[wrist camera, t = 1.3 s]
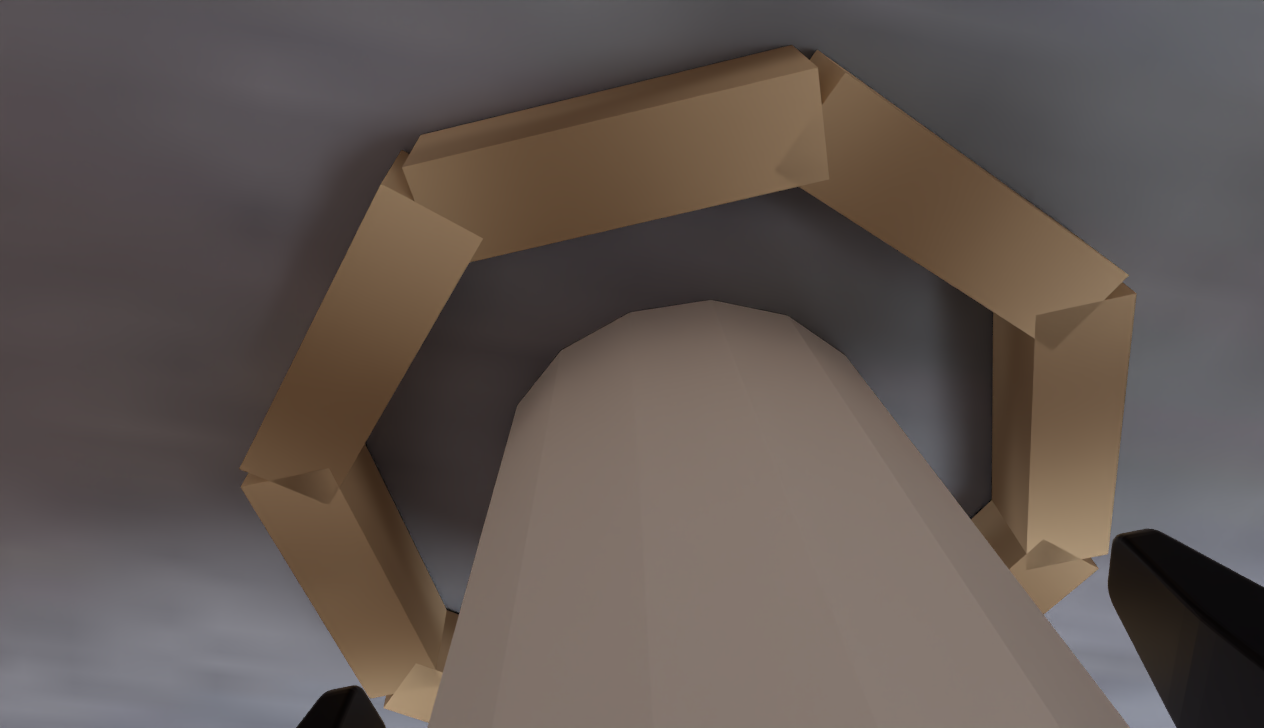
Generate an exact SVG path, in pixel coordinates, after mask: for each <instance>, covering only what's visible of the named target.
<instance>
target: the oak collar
mask: <svg viewBox="0 0 1264 728" xmlns="http://www.w3.org/2000/svg"><path fill="white" fill-rule="evenodd" d="M798 186H799V187H800V188H802V189H803V190H805V191H806V192H808V193H810V194H811V195H813V196H814V197H816V198H817V199H819V200H820V201H822V202H823V203H825V204H827V205H828V206H830V207H831V208H833V209H834V210H836V211H837V212H839V213H841V214H842V215H844V216H845V217H847V218H848V219H850V220H851V221H853V222H855V223H856V224H858V225H859V226H861V227H862V228H864V229H865V230H867V231H868V232H870V233H872V234H873V235H875V236H876V237H878V238H879V239H881V240H882V241H884V242H886V243H887V244H889V245H890V246H892V247H893V248H895V249H896V250H898V251H900V252H901V253H903V254H904V255H906V256H907V257H909V258H910V259H912V260H913V261H915V262H917V263H918V264H920V265H921V266H923V267H924V268H926V269H927V270H929V271H931V272H932V273H934V274H935V275H937V276H938V277H940V278H941V279H943V280H944V281H946V282H948V283H949V284H951V285H952V286H954V287H955V288H957V289H958V290H960V291H962V292H963V293H965V294H966V295H968V296H969V297H971V298H972V299H974V300H976V301H977V302H979V303H980V304H982V305H983V306H985V307H986V308H988V309H989V310H991V311H993V405H992V500H991V501H990V502H989V503H988V504H987V505H986V506H985V507H984V508H983V509H982V510H981V511H980V512H978V513H977V514H976V515H975V516H974V517H973V518H972V519H971V520H972V522H973V523H974V524H975V526H976V527H977V528H978V530H979V531H980V532H981V534H982V535H983V536H984V537H985V539H986V540H987V541H988V543H989V544H990V545H991V547H992V548H993V549H994V551H995V552H996V553H997V554H998V556H999V557H1000V558H1001V560H1002V561H1003V562H1004V564H1005V565H1006V566H1007V568H1008V569H1009V570H1010V571H1011V573H1012V574H1013V575H1014V577H1015V578H1016V579H1017V581H1018V582H1019V583H1020V585H1021V586H1022V587H1023V588H1024V590H1025V591H1026V592H1027V594H1028V595H1029V596H1030V598H1031V599H1032V600H1033V602H1034V603H1035V604H1036V605H1037V607H1038V608H1039V609H1040V611H1041V612H1042V613H1043V614H1045V613H1046V612H1047V611H1048V610H1050V609H1051V608H1052V607H1053V606H1054V605H1056V604H1057V603H1058V602H1059V601H1060V600H1062V599H1063V598H1064V597H1065V596H1066V595H1068V594H1069V593H1070V592H1071V591H1072V590H1074V589H1075V588H1076V587H1077V586H1078V585H1080V584H1081V583H1082V582H1083V581H1085V580H1086V579H1087V578H1088V577H1089V576H1091V575H1092V574H1093V573H1094V572H1095V571H1097V570H1098V569H1099V568H1098V567H1097V566H1096V564H1095V563H1094V561H1093V560H1092V559H1091V557H1096V556H1101V555H1106V554H1108V549H1109V540H1110V531H1111V522H1112V513H1113V503H1114V494H1115V485H1116V476H1117V467H1118V458H1119V449H1120V440H1121V430H1122V421H1123V412H1124V403H1125V394H1126V385H1127V376H1128V366H1129V357H1130V348H1131V339H1132V330H1133V321H1134V312H1135V302H1136V293H1135V292H1134V291H1133V290H1131V289H1130V288H1129V287H1128V286H1126V285H1125V284H1124V283H1122V282H1123V281H1124V280H1125V279H1126V278H1127V277H1128V276H1129V275H1128V274H1126V273H1125V272H1124V271H1123V270H1121V269H1120V268H1119V267H1117V266H1116V265H1115V264H1113V263H1112V262H1111V261H1109V260H1108V259H1107V258H1105V257H1104V256H1103V255H1101V254H1100V253H1099V252H1097V251H1096V250H1095V249H1093V248H1092V247H1091V246H1089V245H1088V244H1087V243H1085V242H1084V241H1083V240H1082V239H1080V238H1079V237H1078V236H1076V235H1075V234H1073V233H1072V232H1071V231H1069V230H1068V229H1066V228H1065V227H1064V226H1062V225H1061V224H1059V223H1058V222H1057V221H1055V220H1054V219H1053V218H1051V217H1050V216H1048V215H1047V214H1046V213H1044V212H1043V211H1041V210H1040V209H1039V208H1037V207H1036V206H1034V205H1033V204H1032V203H1030V202H1029V201H1027V200H1026V199H1025V198H1023V197H1022V196H1020V195H1019V194H1018V193H1016V192H1015V191H1014V190H1012V189H1011V188H1009V187H1008V186H1007V185H1005V184H1004V183H1002V182H1001V181H1000V180H998V179H997V178H995V177H994V176H993V175H991V174H990V173H988V172H987V171H986V170H984V169H983V168H981V167H980V166H979V165H977V164H976V163H975V162H973V161H972V160H970V159H969V158H968V157H966V156H965V155H963V154H962V153H961V152H959V151H958V150H956V149H955V148H954V147H952V146H951V145H949V144H948V143H947V142H945V141H944V140H942V139H941V138H940V137H938V136H937V135H936V134H934V133H933V132H931V131H930V130H929V129H927V128H926V127H924V126H923V125H922V124H920V123H919V122H917V121H916V120H915V119H913V118H912V117H910V116H909V115H908V114H906V113H905V112H903V111H902V110H901V109H899V108H898V107H897V106H895V105H894V104H892V103H891V102H890V101H888V100H887V99H885V98H884V97H883V96H881V95H880V94H878V93H877V92H876V91H874V90H873V89H871V88H870V87H869V86H867V85H866V84H864V83H863V82H862V81H860V80H859V79H858V78H856V77H855V76H853V75H852V74H851V73H849V72H848V71H846V70H845V69H844V68H842V67H841V66H839V65H838V64H837V63H835V62H834V61H832V60H831V59H830V58H828V57H827V56H825V55H824V54H823V53H821V52H820V51H819V50H816V52H815V53H814V54H813V56H812V57H811V59H810V60H809V59H808V58H806V57H805V56H804V55H803V54H802V53H801V52H800V51H798V50H797V49H796V48H795V47H794V46H793V45H790V46H785V47H781V48H777V49H773V50H769V51H765V52H761V53H757V54H752V55H748V56H744V57H740V58H736V59H732V60H728V61H724V62H719V63H715V64H711V65H707V66H703V67H699V68H695V69H691V70H686V71H682V72H678V73H674V74H670V75H666V76H662V77H658V78H654V79H649V80H645V81H641V82H637V83H633V84H629V85H625V86H621V87H616V88H612V89H608V90H604V91H600V92H596V93H592V94H588V95H583V96H579V97H575V98H571V99H567V100H563V101H559V102H555V103H551V104H546V105H542V106H538V107H534V108H530V109H526V110H522V111H518V112H513V113H509V114H505V115H501V116H497V117H493V118H489V119H485V120H480V121H476V122H472V123H468V124H464V125H460V126H456V127H452V128H448V129H443V130H439V131H435V132H431V133H427V134H423V135H420V137H419V139H418V140H417V142H416V144H415V146H414V147H413V149H412V151H411V153H410V154H408V153H406V152H405V151H403V150H401V152H400V153H399V155H398V157H397V158H396V160H395V162H394V163H393V165H392V166H391V168H390V170H389V171H388V173H387V175H386V176H385V178H384V180H383V181H382V183H381V185H380V187H379V189H378V191H377V193H376V195H375V197H374V199H373V201H372V203H371V205H370V207H369V209H368V211H367V213H366V215H365V217H364V219H363V221H362V223H361V225H360V227H359V229H358V231H357V233H356V235H355V237H354V239H353V241H352V243H351V245H350V247H349V249H348V251H347V253H346V255H345V257H344V259H343V261H342V263H341V265H340V267H339V269H338V271H337V273H336V275H335V277H334V279H333V281H332V283H331V285H330V287H329V289H328V291H327V293H326V295H325V297H324V299H323V301H322V303H321V305H320V307H319V309H318V311H317V313H316V315H315V317H314V319H313V321H312V323H311V325H310V327H309V329H308V331H307V333H306V335H305V337H304V339H303V341H302V343H301V346H300V348H299V350H298V352H297V354H296V356H295V358H294V360H293V362H292V364H291V366H290V368H289V370H288V372H287V374H286V376H285V378H284V380H283V382H282V384H281V386H280V388H279V390H278V392H277V394H276V396H275V398H274V400H273V402H272V404H271V406H270V408H269V410H268V412H267V414H266V416H265V418H264V420H263V422H262V424H261V426H260V428H259V430H258V432H257V434H256V436H255V438H254V440H253V442H252V444H251V446H250V448H249V450H248V452H247V454H246V456H245V458H244V460H243V462H242V464H241V466H240V468H239V469H240V470H243V471H245V472H248V474H247V476H246V478H245V480H244V482H243V484H242V485H241V489H242V490H243V492H244V494H245V495H246V497H247V498H248V500H249V502H250V503H251V505H252V507H253V508H254V510H255V512H256V513H257V515H258V516H259V518H260V520H261V521H262V523H263V525H264V526H265V528H266V530H267V531H268V533H269V534H270V536H271V538H272V539H273V541H274V543H275V544H276V546H277V547H278V549H279V551H280V552H281V554H282V556H283V557H284V559H285V561H286V562H287V564H288V565H289V567H290V569H291V570H292V572H293V574H294V575H295V577H296V579H297V580H298V582H299V583H300V585H301V587H302V588H303V590H304V592H305V593H306V595H307V597H308V598H309V600H310V601H311V603H312V605H313V606H314V608H315V610H316V611H317V613H318V614H319V616H320V618H321V619H322V621H323V623H324V624H325V626H326V628H327V629H328V631H329V632H330V634H331V636H332V637H333V639H334V641H335V642H336V644H337V646H338V647H339V649H340V650H341V652H342V654H343V655H344V657H345V659H346V660H347V662H348V664H349V665H350V667H351V668H352V670H353V672H354V673H355V675H356V677H357V678H358V680H359V681H360V683H361V685H362V686H363V688H364V690H365V691H366V693H367V695H368V696H369V698H375V697H381V696H386V699H385V703H384V708H385V709H388V710H391V711H394V712H397V713H400V714H403V715H407V716H410V717H413V718H416V719H419V720H422V721H425V722H428V723H429V721H430V717H431V713H432V710H433V706H434V703H435V699H436V695H437V692H438V688H439V685H440V681H441V677H442V674H443V670H444V667H445V663H446V659H447V656H448V652H449V649H450V645H451V641H452V638H453V634H454V631H455V627H456V624H457V620H458V616H459V614H456V613H453V612H450V611H448V610H446V608H445V605H444V603H443V601H442V599H441V597H440V595H439V593H438V591H437V589H436V587H435V585H434V583H433V581H432V579H431V577H430V575H429V573H428V571H427V569H426V567H425V565H424V563H423V561H422V559H421V557H420V555H419V553H418V551H417V549H416V547H415V544H414V542H413V540H412V538H411V536H410V534H409V532H408V530H407V528H406V526H405V524H404V522H403V520H402V518H401V516H400V514H399V512H398V510H397V508H396V506H395V504H394V502H393V500H392V498H391V496H390V494H389V492H388V490H387V488H386V486H385V483H384V481H383V479H382V477H381V475H380V473H379V471H378V469H377V467H376V465H375V463H374V461H373V459H372V457H371V455H370V453H369V451H368V449H367V447H366V445H365V442H366V441H367V439H368V437H369V435H370V434H371V432H372V430H373V428H374V427H375V425H376V423H377V422H378V420H379V418H380V416H381V415H382V413H383V411H384V409H385V408H386V406H387V404H388V402H389V401H390V399H391V397H392V396H393V394H394V392H395V390H396V389H397V387H398V385H399V383H400V382H401V380H402V378H403V377H404V375H405V373H406V371H407V370H408V368H409V366H410V364H411V363H412V361H413V359H414V357H415V356H416V354H417V352H418V351H419V349H420V347H421V345H422V344H423V342H424V340H425V338H426V337H427V335H428V333H429V331H430V330H431V328H432V326H433V325H434V323H435V321H436V319H437V318H438V316H439V314H440V312H441V311H442V309H443V307H444V306H445V304H446V302H447V300H448V299H449V297H450V295H451V293H452V292H453V290H454V288H455V286H456V285H457V283H458V281H459V280H460V278H461V276H462V274H463V273H464V271H465V269H466V267H467V266H468V264H469V262H474V261H478V260H482V259H487V258H491V257H495V256H500V255H504V254H508V253H513V252H517V251H521V250H526V249H530V248H534V247H539V246H543V245H547V244H552V243H556V242H560V241H565V240H569V239H573V238H578V237H582V236H586V235H591V234H595V233H599V232H604V231H608V230H612V229H617V228H621V227H625V226H630V225H634V224H638V223H643V222H647V221H651V220H656V219H660V218H664V217H669V216H673V215H677V214H682V213H686V212H690V211H695V210H699V209H703V208H708V207H712V206H716V205H721V204H725V203H729V202H734V201H738V200H742V199H747V198H751V197H755V196H760V195H764V194H768V193H773V192H777V191H781V190H785V189H790V188H794V187H798Z"/></svg>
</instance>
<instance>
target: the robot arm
mask: <svg viewBox="0 0 1264 728" xmlns="http://www.w3.org/2000/svg"><path fill="white" fill-rule="evenodd" d="M1108 591H1109V595H1110V598H1111V601H1112V604H1113V606H1114V608H1115V610H1116V612H1117V614H1118V616H1119V618H1120V620H1121V621H1122V623H1123V625H1124V627H1125V629H1126V631H1127V633H1128V635H1129V637H1130V639H1131V641H1132V643H1133V645H1134V647H1135V649H1136V651H1137V653H1138V655H1139V657H1140V658H1141V660H1142V662H1143V664H1144V666H1145V668H1146V670H1147V672H1148V674H1149V676H1150V678H1151V680H1152V682H1153V684H1154V686H1155V688H1156V690H1157V692H1158V693H1159V695H1160V697H1161V699H1162V701H1163V703H1164V705H1165V707H1166V709H1167V711H1168V713H1169V715H1170V716H1171V718H1172V720H1173V722H1174V724H1175V726H1176V727H1177V728H1264V587H1262V586H1261V585H1259V584H1257V583H1255V582H1253V581H1251V580H1249V579H1248V578H1246V577H1244V576H1242V575H1240V574H1238V573H1236V572H1235V571H1233V570H1231V569H1229V568H1227V567H1225V566H1223V565H1222V564H1220V563H1218V562H1216V561H1214V560H1212V559H1211V558H1209V557H1207V556H1205V555H1203V554H1201V553H1199V552H1198V551H1196V550H1194V549H1192V548H1190V547H1188V546H1186V545H1185V544H1183V543H1181V542H1179V541H1177V540H1175V539H1173V538H1172V537H1170V536H1168V535H1166V534H1164V533H1162V532H1160V531H1158V530H1154V529H1142V530H1137V531H1132V532H1127V533H1122V534H1119V535H1117V536H1116V537H1115V538H1114V540H1113V543H1112V549H1111V558H1110V567H1109V576H1108ZM296 728H386V727H385V724H384V722H383V721H382V719H381V717H380V716H379V714H378V713H377V711H376V709H375V708H374V706H373V704H372V703H371V701H370V700H369V698H368V696H367V695H366V693H365V692H364V690H363V689H362V688H360V687H359V686H348V687H343V688H338V689H333V690H329V691H327V692H325V693H324V694H323V695H322V696H321V697H320V698H319V699H318V700H317V702H316V703H315V704H314V705H313V707H312V708H311V709H310V711H309V712H308V713H307V714H306V716H305V717H304V718H303V720H302V721H301V722H300V723H299V725H298V726H297V727H296Z"/></svg>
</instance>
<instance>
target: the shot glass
mask: <svg viewBox="0 0 1264 728" xmlns="http://www.w3.org/2000/svg"><path fill="white" fill-rule="evenodd" d="M428 728H1130V727H1129V726H1128V724H1127V723H1126V722H1125V721H1124V719H1123V718H1122V717H1121V715H1120V714H1119V713H1118V711H1117V710H1116V709H1115V707H1114V706H1113V705H1112V704H1111V702H1110V701H1109V700H1108V698H1107V697H1106V696H1105V694H1104V693H1103V692H1102V690H1101V689H1100V688H1099V687H1098V685H1097V684H1096V683H1095V681H1094V680H1093V679H1092V677H1091V676H1090V675H1089V673H1088V672H1087V671H1086V670H1085V668H1084V667H1083V666H1082V664H1081V663H1080V662H1079V660H1078V659H1077V658H1076V656H1075V655H1074V654H1073V653H1072V651H1071V650H1070V649H1069V647H1068V646H1067V645H1066V643H1065V642H1064V641H1063V639H1062V638H1061V637H1060V636H1059V634H1058V633H1057V632H1056V630H1055V629H1054V628H1053V626H1052V625H1051V624H1050V622H1049V621H1048V620H1047V619H1046V617H1045V616H1044V615H1043V613H1042V612H1041V611H1040V609H1039V608H1038V607H1037V605H1036V604H1035V603H1034V602H1033V600H1032V599H1031V598H1030V596H1029V595H1028V594H1027V592H1026V591H1025V590H1024V588H1023V587H1022V586H1021V585H1020V583H1019V582H1018V581H1017V579H1016V578H1015V577H1014V575H1013V574H1012V573H1011V571H1010V570H1009V569H1008V568H1007V566H1006V565H1005V564H1004V562H1003V561H1002V560H1001V558H1000V557H999V556H998V554H997V553H996V552H995V551H994V549H993V548H992V547H991V545H990V544H989V543H988V541H987V540H986V539H985V537H984V536H983V535H982V534H981V532H980V531H979V530H978V528H977V527H976V526H975V524H974V523H973V522H972V520H971V519H970V518H969V517H968V515H967V514H966V513H965V511H964V510H963V509H962V507H961V506H960V505H959V503H958V502H957V501H956V500H955V498H954V497H953V496H952V494H951V493H950V492H949V490H948V489H947V488H946V486H945V485H944V484H943V483H942V481H941V480H940V479H939V477H938V476H937V475H936V473H935V472H934V471H933V469H932V468H931V467H930V466H929V464H928V463H927V462H926V460H925V459H924V458H923V456H922V455H921V454H920V452H919V451H918V450H917V449H916V447H915V446H914V445H913V443H912V442H911V441H910V439H909V438H908V437H907V435H906V434H905V433H904V432H903V430H902V429H901V428H900V426H899V425H898V424H897V422H896V421H895V420H894V418H893V417H892V416H891V415H890V413H889V412H888V411H887V409H886V408H885V407H884V405H883V404H882V403H881V401H880V400H879V399H878V397H877V396H876V395H875V394H874V392H873V391H872V390H871V388H870V387H869V386H868V384H867V383H866V382H865V380H864V379H863V378H862V377H861V375H860V374H859V373H858V371H857V370H856V369H855V367H854V366H853V365H852V363H851V362H850V361H849V360H848V358H847V357H846V356H845V355H844V354H842V353H841V352H840V351H838V350H837V349H835V348H834V347H832V346H831V345H829V344H828V343H827V342H825V341H824V340H822V339H821V338H819V337H818V336H816V335H815V334H814V333H812V332H811V331H809V330H808V329H806V328H805V327H803V326H802V325H801V324H799V323H798V322H796V321H795V320H793V319H792V318H790V317H789V316H787V315H782V314H777V313H772V312H768V311H763V310H758V309H753V308H748V307H743V306H738V305H734V304H729V303H724V302H719V301H714V300H707V301H700V302H694V303H687V304H681V305H674V306H668V307H661V308H655V309H649V310H642V311H636V312H629V313H628V314H626V315H624V316H622V317H620V318H619V319H617V320H615V321H613V322H611V323H610V324H608V325H606V326H604V327H602V328H601V329H599V330H597V331H595V332H593V333H592V334H590V335H588V336H586V337H584V338H583V339H581V340H579V341H577V342H575V343H574V344H572V345H570V346H568V347H566V348H565V349H563V350H561V351H560V352H559V354H558V355H557V356H556V357H555V359H554V360H553V361H552V362H551V364H550V365H549V366H548V367H547V369H546V370H545V371H544V372H543V374H542V375H541V376H540V377H539V379H538V380H537V381H536V382H535V384H534V385H533V386H532V387H531V389H530V390H529V391H528V393H527V394H526V395H525V396H524V398H523V399H522V400H521V401H520V403H519V404H518V405H517V408H516V412H515V415H514V419H513V422H512V426H511V430H510V433H509V437H508V440H507V444H506V447H505V451H504V455H503V458H502V462H501V465H500V469H499V473H498V476H497V480H496V483H495V487H494V491H493V494H492V498H491V501H490V505H489V509H488V512H487V516H486V519H485V523H484V527H483V530H482V534H481V537H480V541H479V544H478V548H477V552H476V555H475V559H474V562H473V566H472V570H471V573H470V577H469V580H468V584H467V588H466V591H465V595H464V598H463V602H462V606H461V609H460V613H459V616H458V620H457V624H456V627H455V631H454V634H453V638H452V641H451V645H450V649H449V652H448V656H447V659H446V663H445V667H444V670H443V674H442V677H441V681H440V685H439V688H438V692H437V695H436V699H435V703H434V706H433V710H432V713H431V717H430V721H429V724H428Z"/></svg>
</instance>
